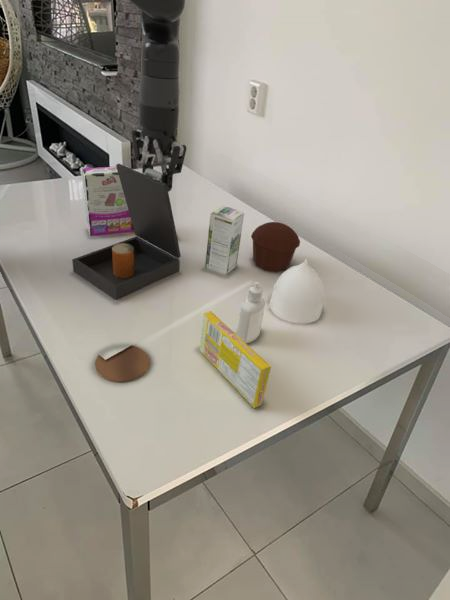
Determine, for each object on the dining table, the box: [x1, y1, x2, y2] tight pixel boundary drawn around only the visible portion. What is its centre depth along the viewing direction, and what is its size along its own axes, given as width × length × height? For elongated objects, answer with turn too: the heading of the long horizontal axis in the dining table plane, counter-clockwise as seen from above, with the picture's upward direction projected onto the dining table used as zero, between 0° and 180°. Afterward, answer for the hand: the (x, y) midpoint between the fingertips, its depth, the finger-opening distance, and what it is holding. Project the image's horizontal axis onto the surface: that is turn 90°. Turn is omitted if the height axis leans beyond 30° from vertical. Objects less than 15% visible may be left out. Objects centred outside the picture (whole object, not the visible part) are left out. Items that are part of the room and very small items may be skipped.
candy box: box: [199, 311, 272, 409], centre depth 74 cm, size 16×2×8 cm, turn 35°
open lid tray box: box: [71, 235, 181, 301], centre depth 99 cm, size 18×15×4 cm
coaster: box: [94, 345, 150, 383], centre depth 76 cm, size 9×9×1 cm
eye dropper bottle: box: [236, 281, 266, 345], centre depth 83 cm, size 4×6×12 cm
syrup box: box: [204, 205, 245, 276], centre depth 102 cm, size 6×6×14 cm
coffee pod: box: [112, 243, 134, 278], centre depth 97 cm, size 5×5×6 cm
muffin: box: [251, 221, 301, 273], centre depth 108 cm, size 12×11×10 cm
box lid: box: [115, 163, 182, 260], centre depth 98 cm, size 18×15×5 cm
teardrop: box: [269, 258, 326, 325], centre depth 92 cm, size 11×11×12 cm
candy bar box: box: [81, 165, 135, 237], centre depth 111 cm, size 11×5×16 cm, turn 114°
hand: (156, 186), depth 95 cm, fingers closed on box lid, 5 cm apart
